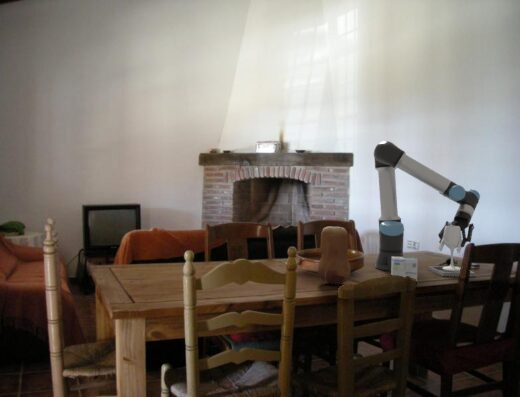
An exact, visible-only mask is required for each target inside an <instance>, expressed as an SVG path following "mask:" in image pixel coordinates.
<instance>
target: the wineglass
mask: <svg viewBox="0 0 520 397" xmlns="http://www.w3.org/2000/svg"><path fill="white" fill-rule="evenodd" d="M444 226H445V225H444ZM461 239H462V231H461V230H460V227H459V226H452V225H451V226H445V229H444V235H443V240H444V243H445V244H444V246H445V247H447V248H448V249H449V250H450V264H449V265H447V266H446V267H443V268H442V269H444V270H450V271H459V270H460V269H461V268H459V267H460V266H459V267H455V265H454V251H455V249H457V247H458V245H459V242H460V240H461Z"/></svg>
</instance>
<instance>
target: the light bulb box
mask: <svg viewBox="0 0 520 397" xmlns="http://www.w3.org/2000/svg"><path fill="white" fill-rule="evenodd" d="M418 261H419V260H418V258H416V257H415V256H412V257H411V256H404V257H391V271H390V276H391V275H399V276H403V277H406V276H410V277H411V278H414V279H416V281H417V282H418V263H419V262H418Z"/></svg>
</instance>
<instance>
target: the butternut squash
mask: <svg viewBox="0 0 520 397" xmlns="http://www.w3.org/2000/svg"><path fill="white" fill-rule="evenodd" d="M348 235H349V234H348V231H347V229H346V228H345V227H341V226H326V227H323V228H322V231H321V233H320V245H319V246H320V247H319V248H320V253H321V257H320V258H319V262H318V268H317V271H318V272H317V276H318V277H319V278H320V279H321V280H322V281H323V282H324V283H327V284H330V283H331V284H330V285H332V284H337V285H336V286H340V285H339V284H341V285H342V284H343V283H346V282H347V281H348V280H349V278H350V277H351V266H350V265H351V264H350V263H349V260H348V252H349V236H348Z"/></svg>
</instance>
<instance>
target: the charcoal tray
mask: <svg viewBox="0 0 520 397" xmlns="http://www.w3.org/2000/svg"><path fill="white" fill-rule="evenodd" d="M454 266H455V265H454ZM443 267H446V266H443V265H442V266H441V265H440V266H437V265H435V266H434V265H432V266H428V267H427V270H428V271H430V272H432V273H433V274H435V275H438V276H440V275H441V277H442V276H445V277H446V276H449V278H451V277H452V278H453V277H454V276H455V278H457V277H459V273H460V270H459V271H450V270H444V269H442V268H443ZM455 267H459V268H461V266H457V265H456V266H455ZM469 271H470V277H469V278H471V277H472V278H474V277H476V272H474V271H472V270H469ZM450 276H451V277H450ZM445 277H444V278H445ZM446 278H447V277H446Z"/></svg>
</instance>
